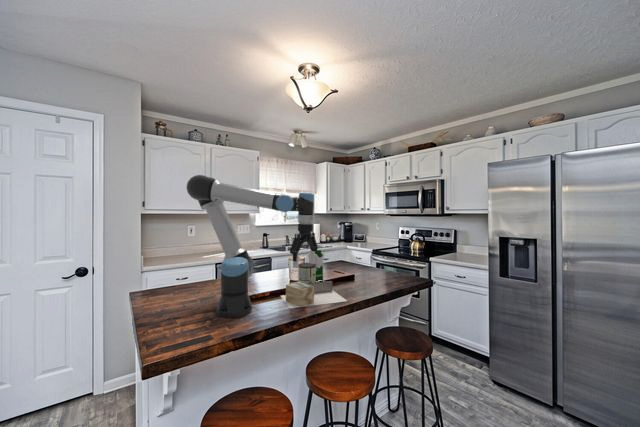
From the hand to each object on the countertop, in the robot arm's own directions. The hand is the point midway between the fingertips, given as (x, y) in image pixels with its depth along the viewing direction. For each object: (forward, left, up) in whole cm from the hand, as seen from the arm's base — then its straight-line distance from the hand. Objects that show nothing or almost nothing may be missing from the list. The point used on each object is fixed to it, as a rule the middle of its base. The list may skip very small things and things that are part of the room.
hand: (304, 265), depth 139 cm
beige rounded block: (-3, -3, -17) cm, 18 cm away
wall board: (+5, 0, -18) cm, 19 cm away
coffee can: (+8, +18, -18) cm, 27 cm away
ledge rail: (+9, +8, -18) cm, 22 cm away
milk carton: (+19, +32, -18) cm, 41 cm away
